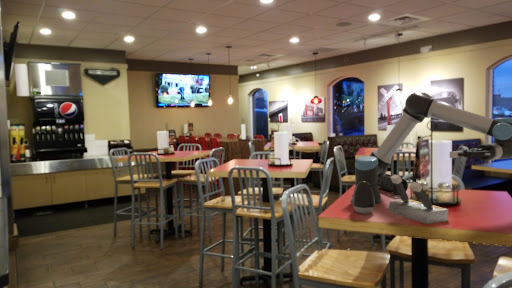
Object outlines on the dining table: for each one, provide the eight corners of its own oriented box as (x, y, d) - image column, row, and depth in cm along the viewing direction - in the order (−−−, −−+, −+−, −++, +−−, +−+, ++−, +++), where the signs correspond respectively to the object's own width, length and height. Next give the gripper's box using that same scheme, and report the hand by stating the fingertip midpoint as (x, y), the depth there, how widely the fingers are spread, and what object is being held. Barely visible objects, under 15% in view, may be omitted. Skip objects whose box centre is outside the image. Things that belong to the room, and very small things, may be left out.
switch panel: (389, 212, 184) (389, 201, 184) (408, 209, 189) (408, 198, 188) (426, 224, 163) (427, 211, 163) (448, 220, 167) (448, 208, 167)
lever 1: (401, 202, 183) (390, 177, 180) (405, 199, 184) (394, 174, 181) (407, 204, 180) (395, 178, 177) (411, 201, 181) (399, 175, 177)
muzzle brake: (392, 196, 219) (392, 178, 218) (371, 187, 247) (371, 171, 246) (408, 195, 220) (408, 177, 220) (385, 186, 248) (385, 170, 247)
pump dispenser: (371, 216, 177) (371, 183, 176) (349, 213, 183) (349, 181, 182) (377, 211, 186) (378, 180, 185) (356, 209, 191) (356, 178, 190)
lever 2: (424, 209, 170) (409, 185, 166) (428, 205, 171) (413, 181, 167) (431, 211, 167) (415, 187, 163) (435, 207, 168) (419, 182, 164)
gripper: (501, 161, 175) (463, 165, 166) (475, 158, 187) (438, 161, 178) (502, 144, 174) (463, 147, 166) (476, 143, 186) (439, 145, 178)
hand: (451, 154), depth 172 cm, fingers closed
